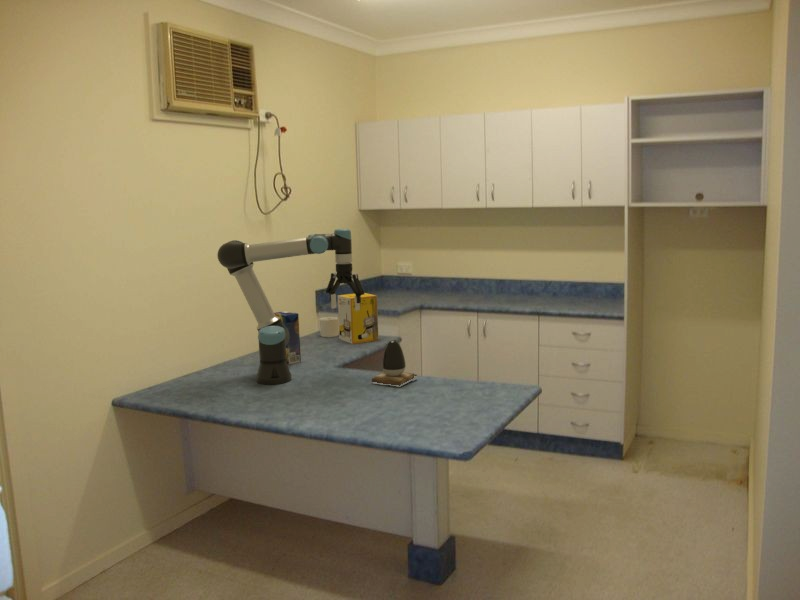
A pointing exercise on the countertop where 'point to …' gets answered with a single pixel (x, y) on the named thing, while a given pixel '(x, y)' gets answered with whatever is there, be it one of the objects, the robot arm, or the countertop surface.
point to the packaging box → (358, 318)
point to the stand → (393, 378)
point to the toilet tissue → (329, 327)
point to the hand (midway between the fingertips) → (345, 309)
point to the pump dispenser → (393, 359)
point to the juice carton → (291, 335)
